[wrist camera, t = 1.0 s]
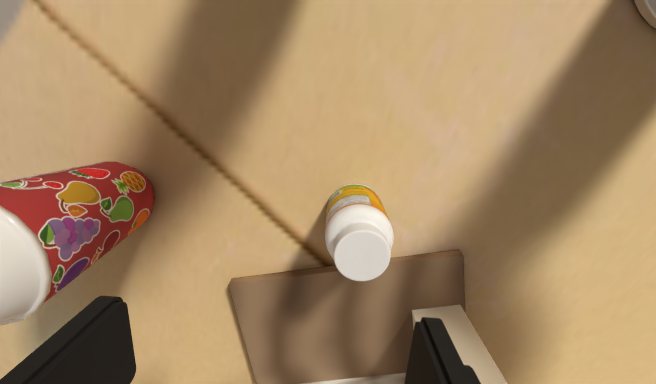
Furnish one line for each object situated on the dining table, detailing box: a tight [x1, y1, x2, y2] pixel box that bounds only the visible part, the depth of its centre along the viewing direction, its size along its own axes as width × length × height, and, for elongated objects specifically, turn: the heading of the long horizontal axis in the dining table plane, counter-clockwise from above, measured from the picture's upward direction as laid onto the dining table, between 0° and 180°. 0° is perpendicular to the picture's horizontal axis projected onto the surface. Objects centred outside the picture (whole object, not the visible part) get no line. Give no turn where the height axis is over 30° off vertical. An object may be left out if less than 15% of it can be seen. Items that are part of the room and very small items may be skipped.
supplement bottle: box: [325, 184, 394, 281], centre depth 26 cm, size 5×5×10 cm
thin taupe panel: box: [228, 250, 465, 384], centre depth 33 cm, size 24×15×3 cm, turn 99°
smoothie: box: [0, 162, 155, 325], centre depth 21 cm, size 8×8×20 cm
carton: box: [412, 305, 508, 384], centre depth 28 cm, size 5×7×12 cm
